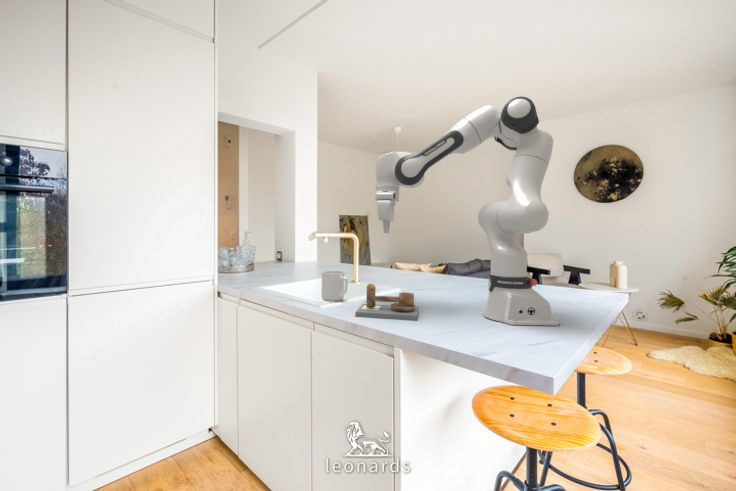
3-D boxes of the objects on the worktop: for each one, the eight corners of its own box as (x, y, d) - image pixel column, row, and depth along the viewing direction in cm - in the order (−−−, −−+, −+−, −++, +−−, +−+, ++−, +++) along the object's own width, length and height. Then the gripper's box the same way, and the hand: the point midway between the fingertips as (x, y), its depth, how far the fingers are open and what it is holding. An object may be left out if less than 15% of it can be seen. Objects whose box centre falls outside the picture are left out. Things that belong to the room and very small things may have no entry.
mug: (316, 299, 138) (317, 272, 138) (332, 296, 145) (333, 270, 144) (338, 304, 130) (338, 275, 130) (354, 300, 137) (354, 273, 137)
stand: (418, 311, 122) (418, 306, 122) (417, 320, 109) (417, 315, 109) (362, 307, 126) (362, 303, 125) (355, 316, 113) (355, 311, 113)
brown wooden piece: (414, 306, 121) (414, 283, 120) (415, 312, 113) (415, 286, 112) (367, 304, 122) (367, 281, 122) (365, 310, 114) (365, 285, 114)
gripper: (382, 198, 141) (381, 232, 142) (374, 193, 121) (373, 233, 122) (398, 198, 140) (397, 233, 141) (392, 193, 120) (391, 233, 120)
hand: (386, 233), depth 131 cm, fingers closed
